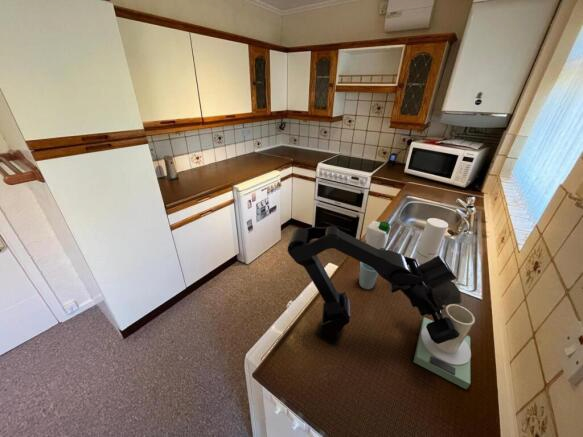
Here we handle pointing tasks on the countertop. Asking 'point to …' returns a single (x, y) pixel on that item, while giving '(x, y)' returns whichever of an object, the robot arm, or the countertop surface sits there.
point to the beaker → (457, 326)
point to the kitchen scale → (443, 358)
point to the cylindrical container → (431, 240)
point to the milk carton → (377, 234)
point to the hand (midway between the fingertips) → (446, 323)
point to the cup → (367, 276)
